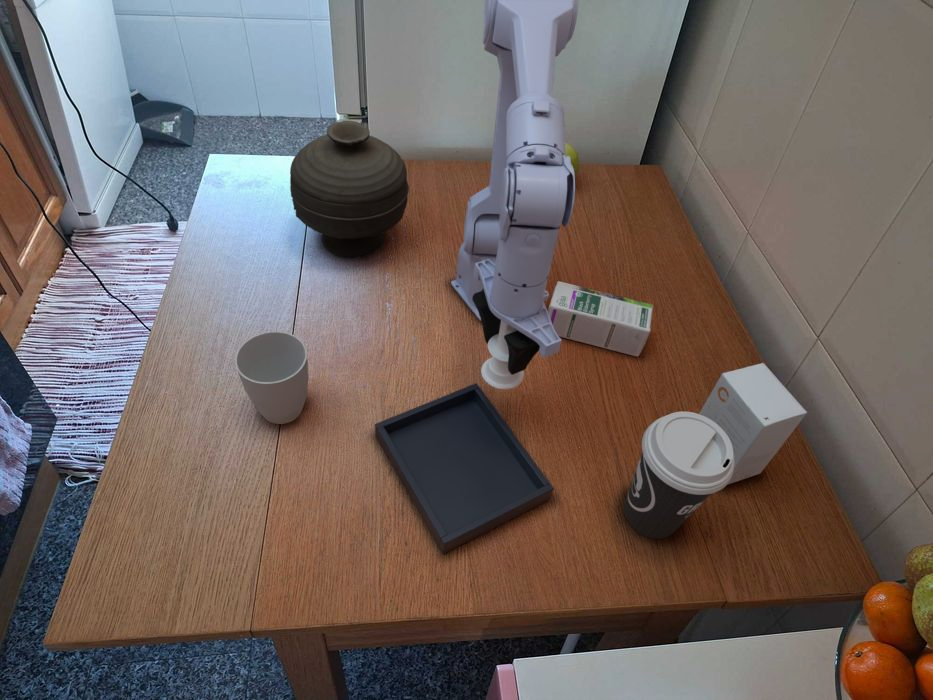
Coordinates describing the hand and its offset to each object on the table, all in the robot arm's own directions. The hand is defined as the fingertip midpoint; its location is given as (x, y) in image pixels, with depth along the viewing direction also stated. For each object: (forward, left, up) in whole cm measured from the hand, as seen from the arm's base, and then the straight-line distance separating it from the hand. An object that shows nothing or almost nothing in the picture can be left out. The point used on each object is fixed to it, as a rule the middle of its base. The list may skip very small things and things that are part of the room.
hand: (505, 355), depth 78 cm
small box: (+20, +22, -11) cm, 32 cm away
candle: (0, 0, -4) cm, 4 cm away
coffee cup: (+22, +8, -11) cm, 26 cm away
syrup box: (0, +26, -8) cm, 27 cm away
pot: (-40, -3, -11) cm, 42 cm away
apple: (-40, +38, -11) cm, 57 cm away
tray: (+6, -9, -11) cm, 15 cm away
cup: (-12, -25, -11) cm, 29 cm away
